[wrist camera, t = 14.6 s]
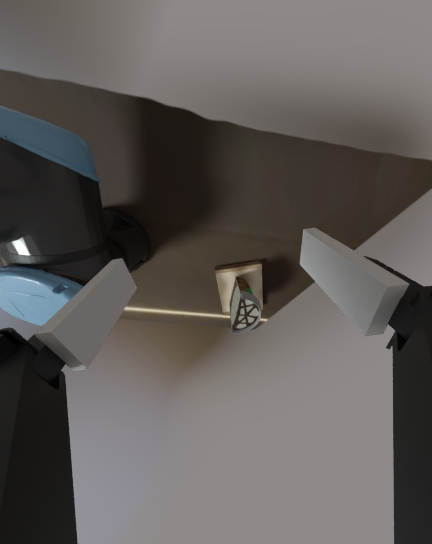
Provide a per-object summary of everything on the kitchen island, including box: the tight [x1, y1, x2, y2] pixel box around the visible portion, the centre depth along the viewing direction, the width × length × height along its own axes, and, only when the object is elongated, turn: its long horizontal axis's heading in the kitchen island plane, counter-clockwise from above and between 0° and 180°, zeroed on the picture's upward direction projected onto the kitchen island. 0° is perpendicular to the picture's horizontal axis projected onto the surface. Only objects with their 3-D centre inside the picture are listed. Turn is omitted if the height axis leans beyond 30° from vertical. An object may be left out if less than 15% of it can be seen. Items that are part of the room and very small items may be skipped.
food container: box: [229, 277, 261, 333], centre depth 44 cm, size 12×6×10 cm, turn 172°
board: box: [215, 261, 263, 315], centre depth 49 cm, size 12×16×2 cm
